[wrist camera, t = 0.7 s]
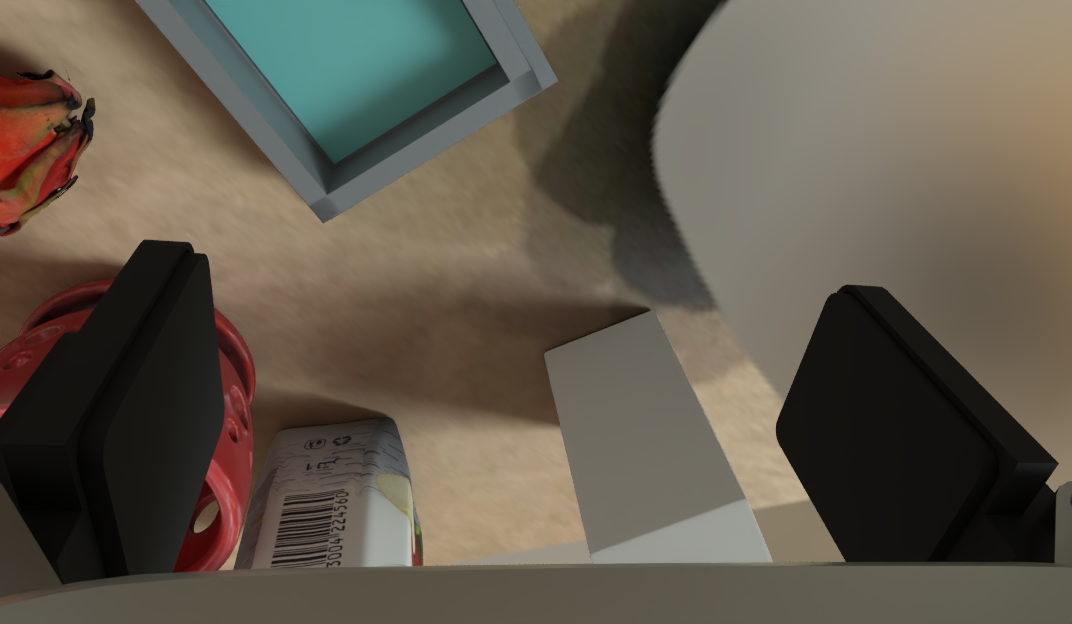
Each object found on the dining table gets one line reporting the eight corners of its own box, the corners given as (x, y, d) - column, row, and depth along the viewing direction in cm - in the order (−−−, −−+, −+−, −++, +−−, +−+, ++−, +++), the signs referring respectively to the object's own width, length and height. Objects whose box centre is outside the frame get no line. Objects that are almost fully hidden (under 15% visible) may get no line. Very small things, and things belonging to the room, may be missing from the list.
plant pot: (108, 466, 45) (17, 649, 35) (-30, 288, 37) (-195, 454, 27) (316, 414, 45) (285, 582, 35) (219, 226, 37) (144, 369, 27)
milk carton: (542, 351, 44) (608, 639, 28) (653, 307, 43) (786, 578, 28) (580, 430, 48) (658, 723, 32) (683, 391, 47) (814, 671, 31)
